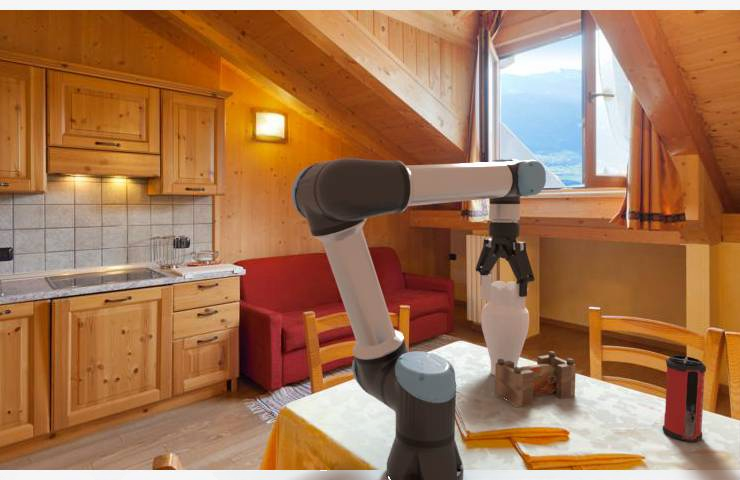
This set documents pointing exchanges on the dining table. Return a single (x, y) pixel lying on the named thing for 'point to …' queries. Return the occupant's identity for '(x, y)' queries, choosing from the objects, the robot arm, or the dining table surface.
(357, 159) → the robot arm
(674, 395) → the speaker
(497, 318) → the vase
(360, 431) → the dining table surface
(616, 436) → the dining table surface
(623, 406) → the dining table surface
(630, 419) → the dining table surface
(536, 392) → the tin
